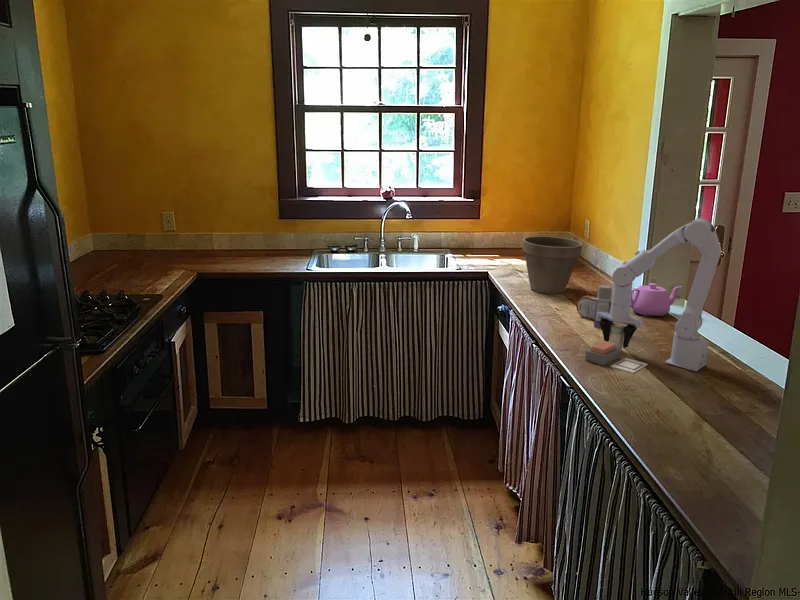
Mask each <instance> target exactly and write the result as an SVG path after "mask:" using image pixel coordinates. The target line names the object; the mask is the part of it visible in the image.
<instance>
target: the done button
mask: <svg viewBox="0 0 800 600" xmlns="http://www.w3.org/2000/svg"><path fill="white" fill-rule="evenodd" d="M590 349H591V352H595V353H598V354H602V355H605V354H607V353H609V352H611V351H613V350H615V349H616V344H615V343H611V342H610V341H604V340H603V341H600V342H598V343H596V344H593V345H592V346H591V348H590Z"/></svg>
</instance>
